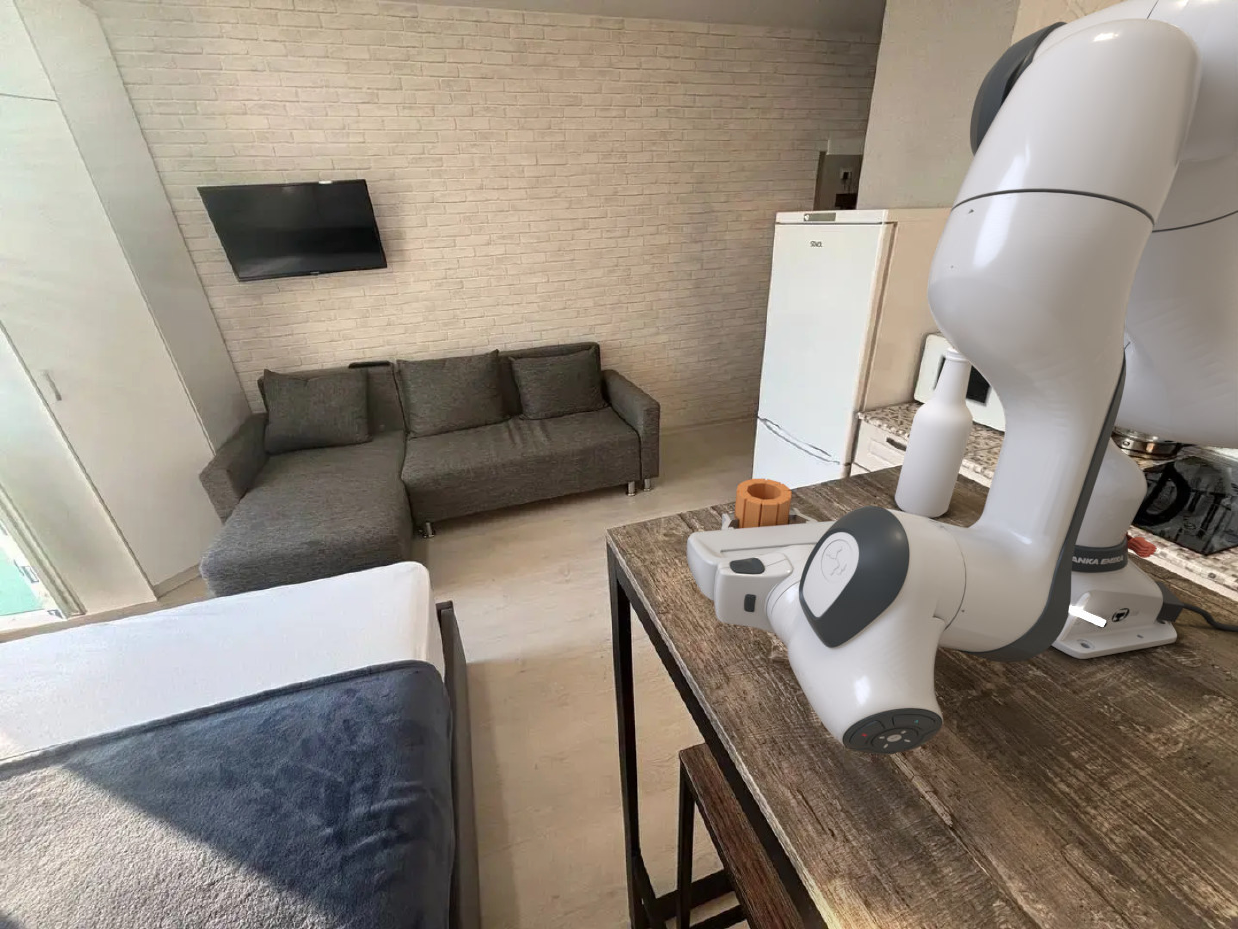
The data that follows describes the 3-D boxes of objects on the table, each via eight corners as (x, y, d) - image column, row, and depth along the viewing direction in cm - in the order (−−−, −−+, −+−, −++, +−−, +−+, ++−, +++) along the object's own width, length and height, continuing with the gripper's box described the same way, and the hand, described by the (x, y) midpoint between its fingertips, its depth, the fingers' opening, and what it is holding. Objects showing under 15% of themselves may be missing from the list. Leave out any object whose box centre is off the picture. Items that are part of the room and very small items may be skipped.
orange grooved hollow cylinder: (784, 542, 66) (792, 481, 62) (781, 572, 60) (790, 508, 56) (735, 535, 68) (740, 475, 64) (728, 563, 62) (733, 500, 58)
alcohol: (952, 522, 91) (1003, 356, 77) (897, 515, 93) (937, 354, 80) (940, 497, 98) (985, 342, 85) (890, 492, 101) (925, 341, 87)
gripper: (912, 555, 50) (844, 486, 62) (705, 573, 48) (677, 499, 61) (898, 605, 52) (836, 530, 65) (702, 623, 51) (677, 543, 63)
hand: (758, 515), depth 63 cm, fingers closed on orange grooved hollow cylinder, 6 cm apart
